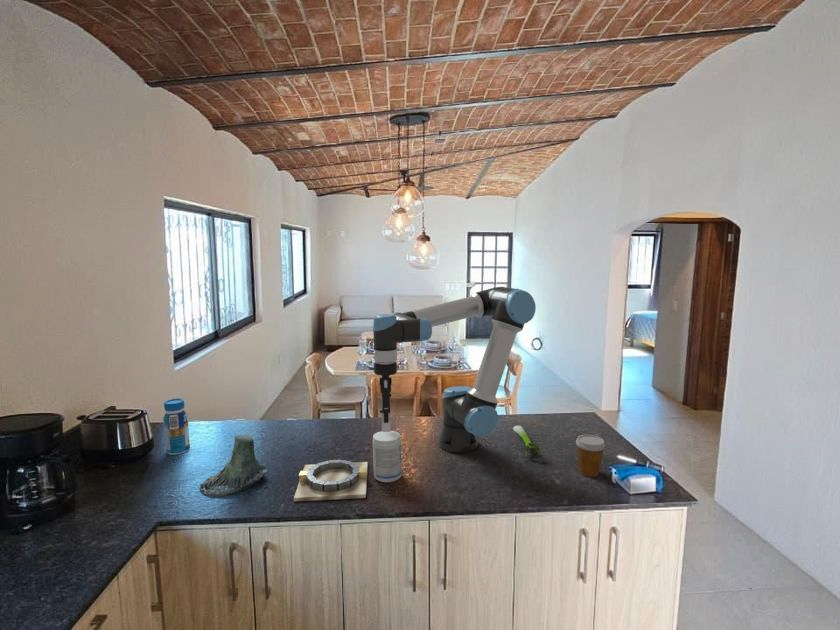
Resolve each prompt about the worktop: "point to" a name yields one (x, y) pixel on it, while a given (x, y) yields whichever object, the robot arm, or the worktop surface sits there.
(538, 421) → the worktop surface
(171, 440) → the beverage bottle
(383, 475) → the supplement tub
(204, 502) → the worktop surface
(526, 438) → the leek
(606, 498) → the worktop surface
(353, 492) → the base plate
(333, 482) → the ring
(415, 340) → the robot arm
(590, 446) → the disposable coffee cup
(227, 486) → the tree stump
